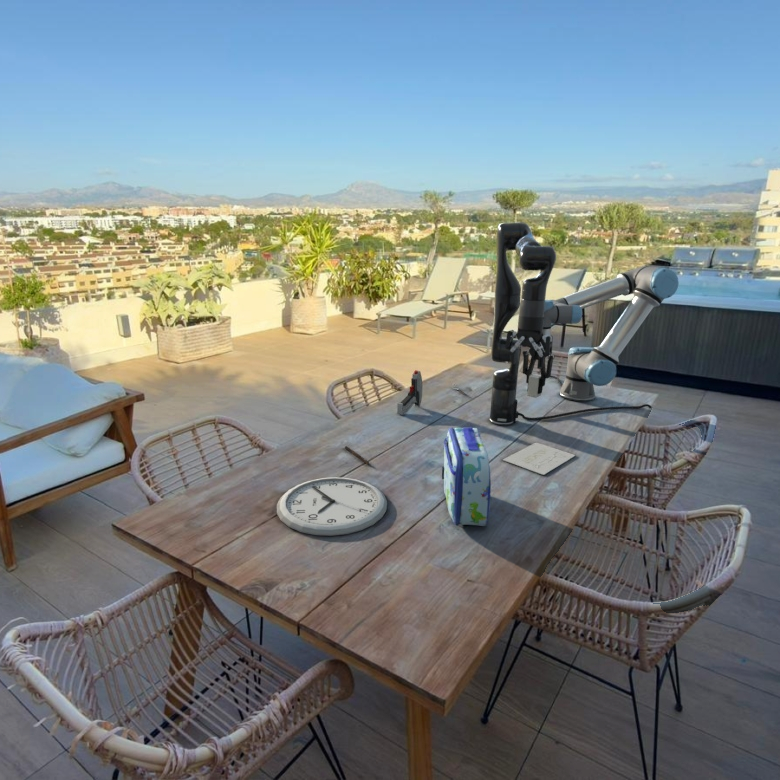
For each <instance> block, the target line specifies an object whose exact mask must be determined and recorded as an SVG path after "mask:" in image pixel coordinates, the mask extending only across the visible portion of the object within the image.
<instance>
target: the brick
mask: <svg viewBox="0 0 780 780" xmlns="http://www.w3.org/2000/svg"><path fill="white" fill-rule="evenodd" d="M540 378H541V374H537V373H532V375H531V376H529V383H527V388H528V391H527V393H526V396H527V397H530V398H535V399H537V398H539V397H541V396H542V393H540V394H538V386H539V379H540Z"/></svg>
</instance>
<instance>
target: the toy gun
mask: <svg viewBox="0 0 780 780" xmlns="http://www.w3.org/2000/svg"><path fill="white" fill-rule="evenodd" d="M411 376H412V377H411V378H410V379H411V381H410V383H411V386H409V391H408V392H407V395H406V396H405V397H404V398H403V399H402V400H401V401H399V402H397V405H396V406H397V407H396V408H397V409H396V410H397V415H401V416H404V415H405V414H406V413H407V412H408V411H409V410H411V409H412V407H413V406H415V407H418V408H421V405H422V399H423V377H422V376H423V375H422V373H421V370H416V369H415V370H414V371H413V373H412V375H411Z"/></svg>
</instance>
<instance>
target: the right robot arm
mask: <svg viewBox="0 0 780 780" xmlns="http://www.w3.org/2000/svg"><path fill="white" fill-rule="evenodd" d="M678 289H679V277H678V274H677V273H676V272H675V271H674V270H672V269H670V268H667V267H665V266H664V267H662V266H661V267H660V266H652V265H643V266H639V267H636V268H633V269H630V270H628V271H625V272H623V273H619V274H618V275H617V276H616V277H615V278H613V279H610V280H607V281H605V282H604V281H603V282H601V283H599V284H596V285H593V286H590V287H588V288H585V289H582V290H579V291H577V292H574V293H571V294H568V295H566V296H563V297H559V298H557V299H545V315H544V324H543V336H550V335H551V331H552V330H551V328H552V325H555V324H556V325H557V324H559V325H560V324H561V325H563V324H564V325H573V324H579V323H580V322H581V320H582V318H583V309H585V308H589V307H592V306H594V305H597V304H600V303H603V302H606V301H608V300H612V299H614V298H617V297H619V296H624V297H626V296H629V295H633V297H632V299H631V301H630V302H629V303H628V305H627V306H626V307H625V309H624V311H623V312H622V313H621V314H620V316H619V318H618V319H617V321H616V322H615V324H614V325H613V327H612V328H611V329H610V330H609V332H608V334H607V335H606V336H605V337H604V339H603V341H602V342H601V343H600V345H598V346H595V347H590V346H589V347H588V346H573V347H570V348H569V350H568V354H567V363H566V373H565V379H564V381H563V384H562V383H561V381H560V378H559V377H557V376H554V375H552V370H553V369H552V368H553V362H554V359H555V357H556V355H555V354H553V353H552V354H551V355H549V356H545V359H546V358H547V363H546V360H545V361H544V366H543V367H542V368H541V369H539V371H538V372H539V373H540V375H541V378H540V379H539V386H538V394H540V393H541V394H542V393H543V390H544V389H543V388H544V387H545V385H546V380H547V379H549V378H552V379H556V380H557V383H558V384H559V385H560V386H561V388H560V389H559V396H560V397H561V398H563V399H566V400H569V401H573V402H580V403H581V402H593V401H594V400H595V398H596V392H595V388H594V386H597V387H603V386H606V385H608V384H610V383H612V381H613V380H614V379H615V377H616V376H617V366H618V364H619V363H620V360H619V356H620V355H621V354H622V352H623V351H624V349H625V348H626V346H627V345H628V344H629V342H630V341H631V340H632V338H633V337H634V335H635V334H636V332H637V331H638V329H639V328H640V327H641V325H642V324H643V323H644V321H645V320H646V318H647V317H648V315H649V314H650V313H651V311H652V310H653V308H655V307H659V306H660V305H661V304H662V303H663V301H664V300H666V299H669V298H672V296H674V295H675V294H676V293H677V291H678ZM541 344H542V346H543V349H544V351H545V346H546V343H545V342H544V340H542V341H541ZM522 356H523V359H522V362H523V363H522V374H523V375H525V376H526V379H525V382H526V384H528V383H529V376H531V375H533V370H534V367H535V364H536V362H537V361H538V357H540V356H539V354H538V353H537V351H536V350H535V349H534V348H528V349H527V350H523V351H522ZM529 356H530V357H529ZM529 361H530V362H529ZM526 391H527V392H528V387H527V390H526Z"/></svg>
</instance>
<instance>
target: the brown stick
mask: <svg viewBox="0 0 780 780" xmlns="http://www.w3.org/2000/svg"><path fill="white" fill-rule="evenodd" d="M344 449H345V450H346V451H348V452H349V453H350V454H352V455H353V456H355V457H356V458H358V459H359V460H361V461H362V462H363V463H364V464H366V465H370V461H368V460H367V459H366V458H364V457H363V456H361V455H360V454H358V453H357V452H356V451H354V450H353V449H352V448H350V447H348V446H347V445H345V446H344Z"/></svg>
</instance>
